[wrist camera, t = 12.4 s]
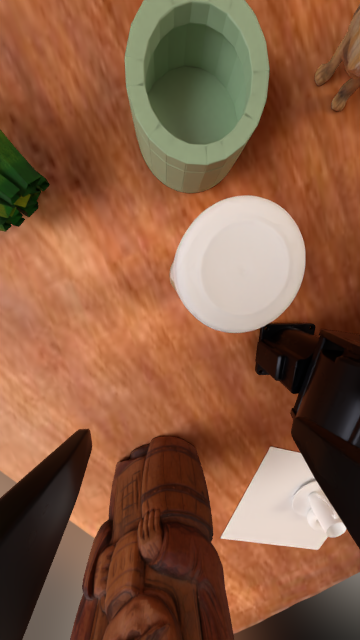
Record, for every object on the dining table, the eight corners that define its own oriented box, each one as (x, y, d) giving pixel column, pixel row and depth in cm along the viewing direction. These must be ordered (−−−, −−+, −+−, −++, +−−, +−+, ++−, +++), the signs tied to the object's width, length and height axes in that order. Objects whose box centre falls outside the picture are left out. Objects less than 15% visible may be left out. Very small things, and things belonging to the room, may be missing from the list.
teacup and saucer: (319, 518, 30) (342, 554, 26) (279, 512, 29) (297, 549, 25) (345, 481, 28) (374, 514, 25) (304, 473, 27) (327, 506, 23)
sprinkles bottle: (184, 303, 19) (220, 360, 6) (160, 267, 18) (145, 248, 5) (219, 280, 19) (332, 289, 6) (197, 242, 18) (278, 153, 5)
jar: (245, 69, 15) (279, -17, 11) (236, 195, 17) (260, 167, 13) (133, 57, 14) (119, -40, 10) (139, 190, 16) (129, 160, 12)
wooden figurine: (181, 422, 23) (227, 858, 6) (203, 453, 25) (289, 870, 7) (106, 461, 24) (-57, 960, 6) (131, 489, 25) (56, 951, 8)
